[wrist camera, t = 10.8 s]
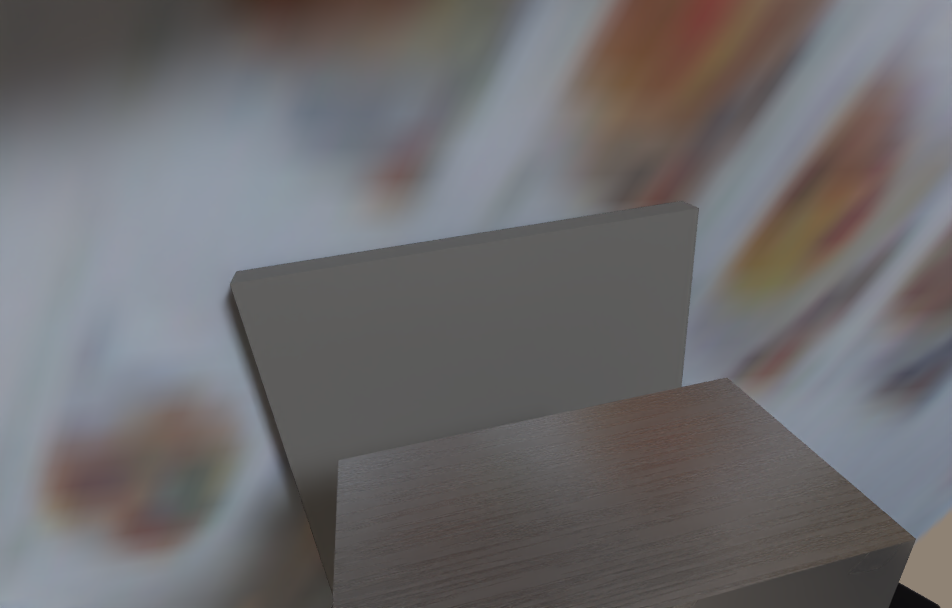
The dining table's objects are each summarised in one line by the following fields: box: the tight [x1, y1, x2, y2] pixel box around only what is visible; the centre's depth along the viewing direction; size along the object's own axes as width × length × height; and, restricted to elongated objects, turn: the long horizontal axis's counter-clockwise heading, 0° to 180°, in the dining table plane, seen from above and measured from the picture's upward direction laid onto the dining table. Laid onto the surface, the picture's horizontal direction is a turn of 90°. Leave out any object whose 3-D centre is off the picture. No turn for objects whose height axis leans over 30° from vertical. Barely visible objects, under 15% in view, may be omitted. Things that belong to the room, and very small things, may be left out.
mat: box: [230, 201, 699, 594], centre depth 12 cm, size 9×9×1 cm
